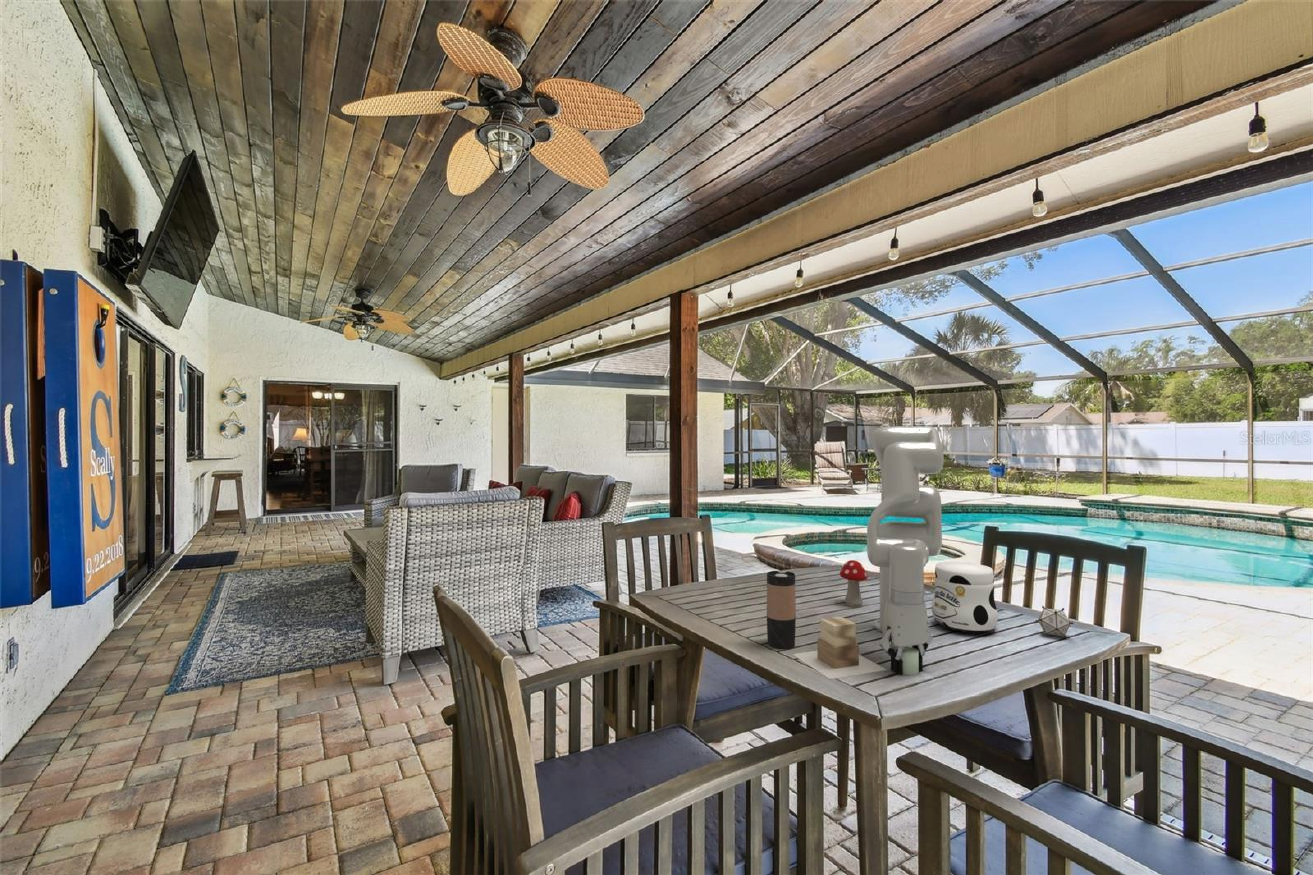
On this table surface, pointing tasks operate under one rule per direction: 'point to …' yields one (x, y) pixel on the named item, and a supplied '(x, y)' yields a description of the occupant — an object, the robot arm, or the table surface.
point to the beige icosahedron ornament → (1054, 622)
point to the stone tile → (832, 673)
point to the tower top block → (838, 631)
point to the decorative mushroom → (853, 582)
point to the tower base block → (838, 654)
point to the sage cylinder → (910, 660)
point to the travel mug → (781, 610)
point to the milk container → (964, 597)
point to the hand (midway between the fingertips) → (906, 672)
